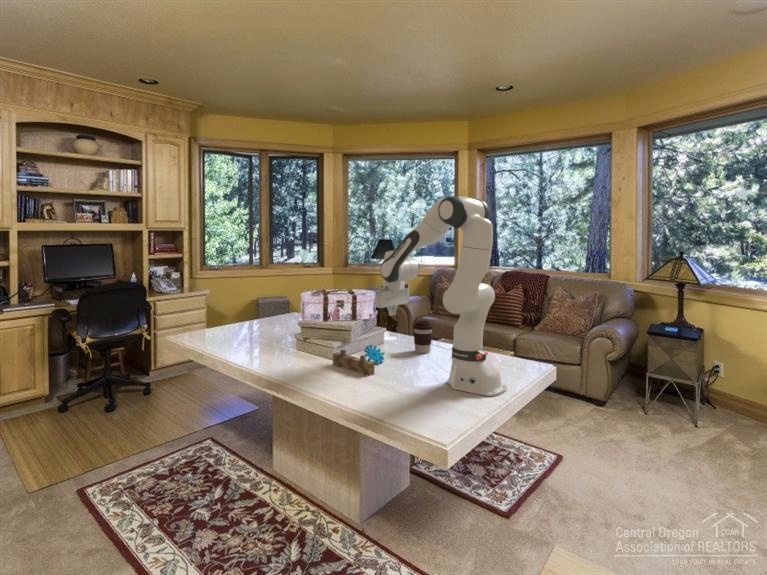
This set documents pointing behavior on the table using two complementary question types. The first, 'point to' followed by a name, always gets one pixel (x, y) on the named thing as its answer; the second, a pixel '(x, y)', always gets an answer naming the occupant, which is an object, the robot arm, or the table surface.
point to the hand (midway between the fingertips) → (392, 315)
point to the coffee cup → (422, 336)
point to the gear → (374, 354)
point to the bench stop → (353, 363)
